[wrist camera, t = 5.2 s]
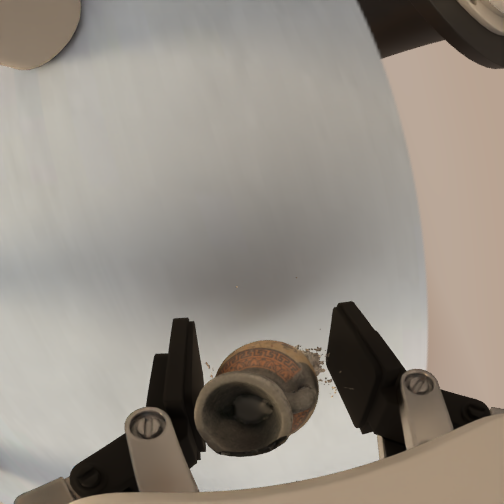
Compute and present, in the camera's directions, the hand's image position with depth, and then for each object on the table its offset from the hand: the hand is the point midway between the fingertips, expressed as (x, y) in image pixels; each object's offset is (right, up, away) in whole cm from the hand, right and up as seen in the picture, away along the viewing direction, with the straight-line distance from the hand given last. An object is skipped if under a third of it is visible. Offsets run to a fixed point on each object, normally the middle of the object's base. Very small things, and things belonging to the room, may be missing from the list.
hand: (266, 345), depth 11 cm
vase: (-1, 0, +1) cm, 1 cm away
